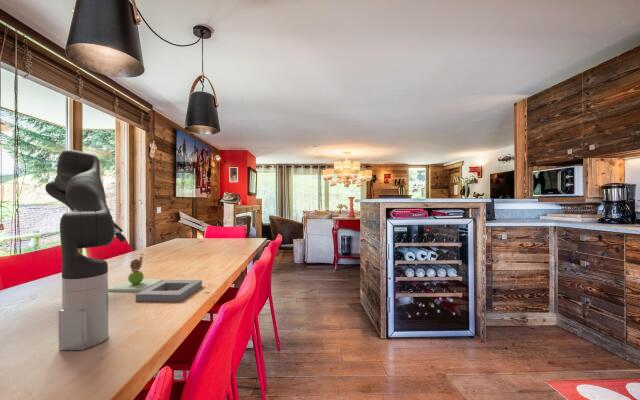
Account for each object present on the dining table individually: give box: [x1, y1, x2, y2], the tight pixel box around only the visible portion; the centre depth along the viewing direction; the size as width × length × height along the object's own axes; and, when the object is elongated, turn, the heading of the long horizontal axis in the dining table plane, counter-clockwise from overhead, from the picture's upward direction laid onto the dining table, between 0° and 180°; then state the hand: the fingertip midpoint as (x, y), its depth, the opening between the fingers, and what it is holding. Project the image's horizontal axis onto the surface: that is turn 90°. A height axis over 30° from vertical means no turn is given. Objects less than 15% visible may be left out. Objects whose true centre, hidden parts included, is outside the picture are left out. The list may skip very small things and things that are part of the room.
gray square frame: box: [134, 279, 203, 303], centre depth 114 cm, size 18×16×2 cm
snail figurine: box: [127, 253, 145, 284], centre depth 122 cm, size 5×6×12 cm
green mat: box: [108, 278, 164, 293], centre depth 122 cm, size 14×14×1 cm
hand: (116, 242), depth 123 cm, fingers open, 8 cm apart
